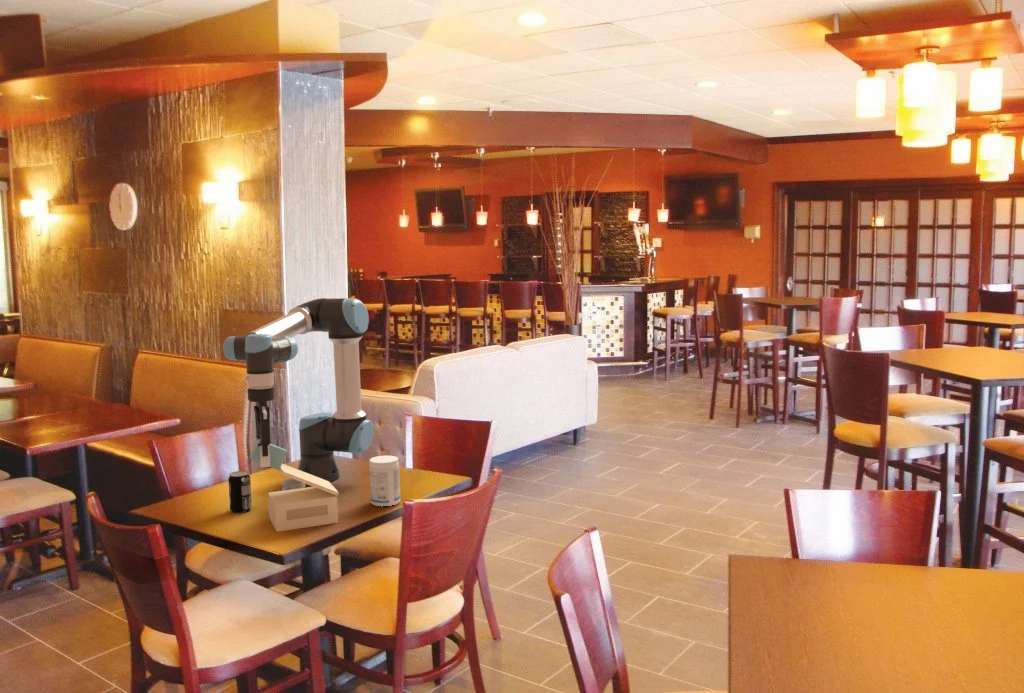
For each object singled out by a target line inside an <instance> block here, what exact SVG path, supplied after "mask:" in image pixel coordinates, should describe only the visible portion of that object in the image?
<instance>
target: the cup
mask: <svg viewBox="0 0 1024 693" xmlns="http://www.w3.org/2000/svg"><path fill="white" fill-rule="evenodd" d="M280 486H281V490H280V491H284V490H292V489H300V488H306V484H305V483H303V482H300V481H297V480H295V479H292V478H289V479H285V480H282V481H281V482H280Z"/></svg>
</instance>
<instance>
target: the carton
mask: <svg viewBox="0 0 1024 693" xmlns="http://www.w3.org/2000/svg"><path fill="white" fill-rule="evenodd" d="M267 497H268V499H267V501H268V502H267V503H268V519H269V521H271V524H272V525H273V527H274V529H275V531H276V532H284V531H285V532H286V531H291V530H292V531H293V530H298V529H305V528H311V527H317V526H324V525H331V524H338V523H339V512H338V509H339V508H338V496H337V495H334V494H332V493H329V492H326V491H324V490H321V489H318V488H316V487H313V486H310V487H309V486H308V487H305V488H300V489H292V490H284V491H281V490H278V491H271V492H270V491H269V492H267Z"/></svg>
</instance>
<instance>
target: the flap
mask: <svg viewBox="0 0 1024 693" xmlns="http://www.w3.org/2000/svg"><path fill="white" fill-rule="evenodd" d="M258 444H260V439H258V440H257V439H256V441H255V444H254V447H253V449H252V451H251V453H250V455H249V459H250V460H251V461H254V462H256V463H258V464H259V463H260V447H259V446H258ZM269 449H270V467H269V468H272V469H274V470H277V471H279V473H280V475H282V476H284V477H287V478H289V479H295V480H297V481H300V482H303V483H305V485H309V486H310V487H316V488H318V489H321V490H324V491H326V492H329V493H332V494H334V495H336V496H337V497H338V496H340V493H339V491H338V490H337V489H336V488H335V487H334V485H333V484H332V483H331V481H330V482H329V481H326V480H324V479H321V478H319V477H316V476H313V475H311V474H308V473H306V472H303V471H301V470H298V468H295V467H293V466H289V465H288V464H285V463H284V461H285V459H286V457H287V455H288V453H289V451H288V450H287V449H285V448H283V447H280V446H278V445H275V444H272V443H270V444H269Z"/></svg>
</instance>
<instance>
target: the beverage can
mask: <svg viewBox="0 0 1024 693" xmlns="http://www.w3.org/2000/svg"><path fill="white" fill-rule="evenodd" d="M227 481H228V496H229V498H228V499H229V510H230V511H231V512H232V513H235V514H242V513H247V512H249V511H250V510H251V509H252V507H253V505H252V504H253V503H252V484H251V483H252V482H251V476H250V474H249V471H247V470H239V471H238V470H237V471H233V472H230V473H229V477H228V480H227Z"/></svg>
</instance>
